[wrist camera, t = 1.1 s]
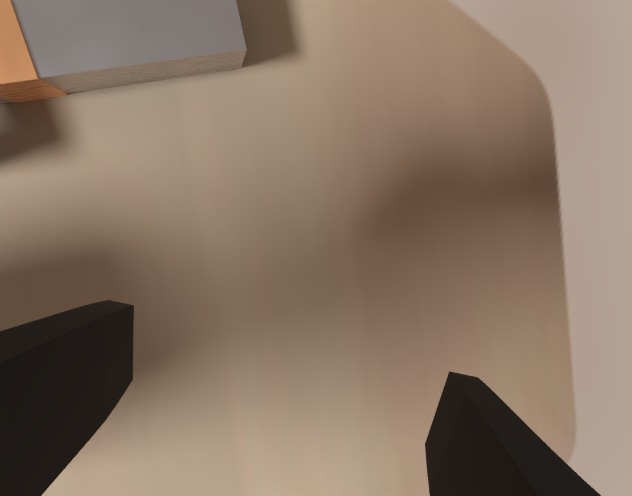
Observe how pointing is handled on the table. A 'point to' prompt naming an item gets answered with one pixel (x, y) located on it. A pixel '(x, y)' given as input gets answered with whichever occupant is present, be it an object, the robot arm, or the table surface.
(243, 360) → the table surface
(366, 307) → the table surface
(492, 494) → the robot arm
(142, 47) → the brushed steel block
